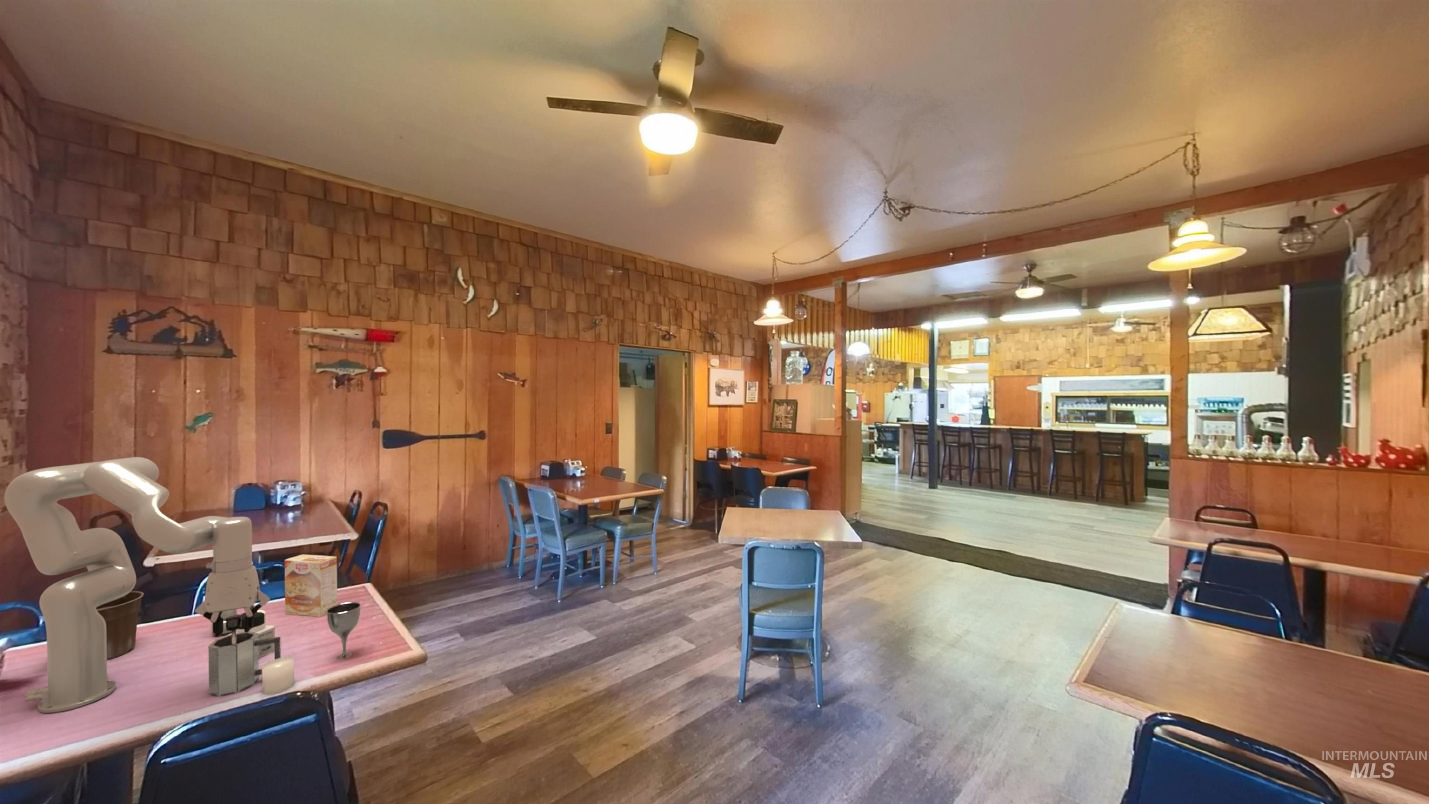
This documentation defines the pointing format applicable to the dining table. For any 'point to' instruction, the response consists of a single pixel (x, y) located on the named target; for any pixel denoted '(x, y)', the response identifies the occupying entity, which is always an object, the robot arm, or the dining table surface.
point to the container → (260, 631)
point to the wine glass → (343, 622)
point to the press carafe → (236, 663)
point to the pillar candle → (278, 675)
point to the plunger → (233, 625)
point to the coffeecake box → (310, 584)
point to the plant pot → (121, 623)
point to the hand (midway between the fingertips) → (233, 632)
